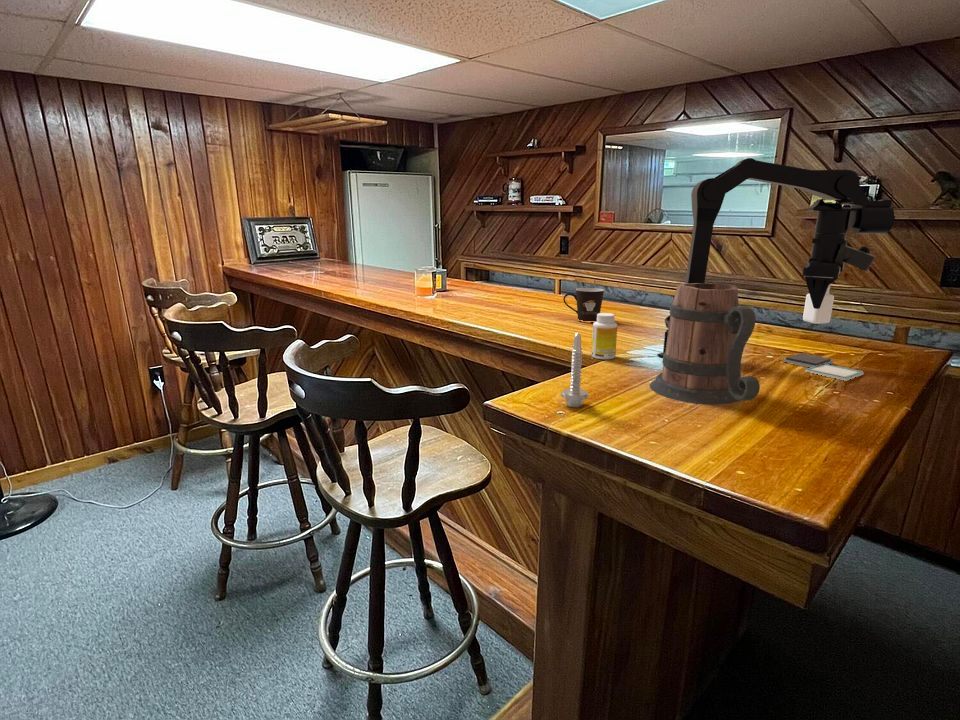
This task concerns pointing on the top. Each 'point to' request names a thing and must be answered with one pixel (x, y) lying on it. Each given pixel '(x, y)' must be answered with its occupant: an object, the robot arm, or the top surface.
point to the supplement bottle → (604, 336)
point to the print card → (835, 372)
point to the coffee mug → (587, 303)
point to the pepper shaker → (823, 312)
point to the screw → (575, 377)
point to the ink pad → (808, 360)
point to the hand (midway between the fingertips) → (817, 306)
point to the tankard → (706, 347)
